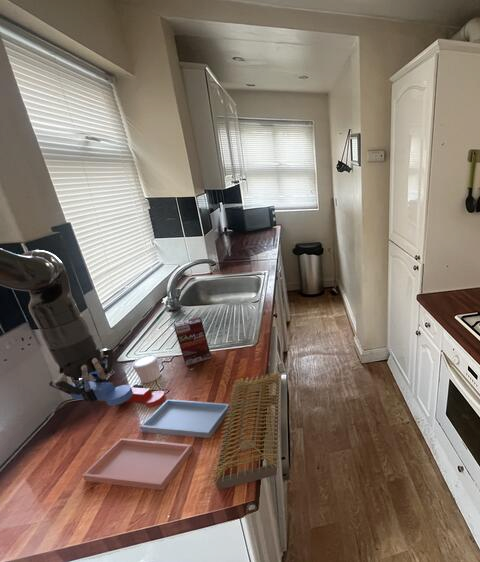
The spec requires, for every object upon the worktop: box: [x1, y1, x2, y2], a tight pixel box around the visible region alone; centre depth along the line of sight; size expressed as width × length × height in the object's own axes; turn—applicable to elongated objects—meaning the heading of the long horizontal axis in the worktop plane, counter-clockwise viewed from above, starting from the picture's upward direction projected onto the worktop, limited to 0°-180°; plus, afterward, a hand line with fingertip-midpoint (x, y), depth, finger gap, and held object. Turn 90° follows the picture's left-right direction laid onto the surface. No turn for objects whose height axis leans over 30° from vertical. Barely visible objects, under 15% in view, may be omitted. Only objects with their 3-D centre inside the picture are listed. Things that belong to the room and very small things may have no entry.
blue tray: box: [139, 398, 231, 439], centre depth 87 cm, size 20×10×2 cm, turn 83°
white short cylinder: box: [131, 354, 161, 384], centre depth 104 cm, size 7×7×7 cm
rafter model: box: [209, 370, 281, 491], centre depth 84 cm, size 35×14×6 cm, turn 15°
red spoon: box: [124, 386, 167, 408], centre depth 95 cm, size 15×5×4 cm, turn 83°
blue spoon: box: [70, 381, 133, 407], centre depth 76 cm, size 15×5×4 cm, turn 83°
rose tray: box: [81, 437, 194, 491], centre depth 74 cm, size 20×10×2 cm, turn 83°
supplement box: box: [173, 316, 212, 367], centre depth 111 cm, size 9×5×16 cm, turn 123°
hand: (98, 396), depth 76 cm, fingers closed on blue spoon, 2 cm apart
